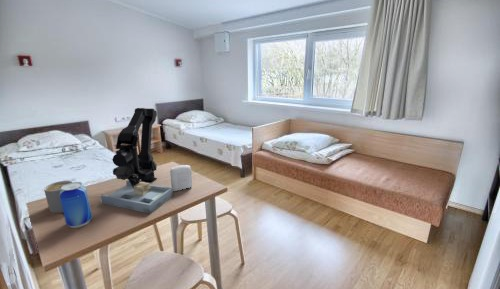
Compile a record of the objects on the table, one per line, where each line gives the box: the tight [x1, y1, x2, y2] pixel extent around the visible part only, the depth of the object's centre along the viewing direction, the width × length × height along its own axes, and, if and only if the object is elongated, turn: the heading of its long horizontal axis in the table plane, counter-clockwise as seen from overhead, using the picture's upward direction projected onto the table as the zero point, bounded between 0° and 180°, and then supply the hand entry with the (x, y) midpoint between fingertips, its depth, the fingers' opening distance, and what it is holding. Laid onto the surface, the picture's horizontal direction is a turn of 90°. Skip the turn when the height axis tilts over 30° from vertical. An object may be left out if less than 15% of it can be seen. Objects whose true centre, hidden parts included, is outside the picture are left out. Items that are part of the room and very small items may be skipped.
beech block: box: [134, 181, 151, 196], centre depth 118 cm, size 5×5×4 cm
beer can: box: [59, 181, 93, 229], centre depth 97 cm, size 8×8×16 cm
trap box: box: [100, 179, 174, 214], centre depth 116 cm, size 16×26×4 cm, turn 72°
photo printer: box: [169, 164, 193, 192], centre depth 125 cm, size 10×4×12 cm, turn 116°
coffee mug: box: [43, 180, 73, 214], centre depth 108 cm, size 13×10×10 cm
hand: (135, 189), depth 120 cm, fingers closed
